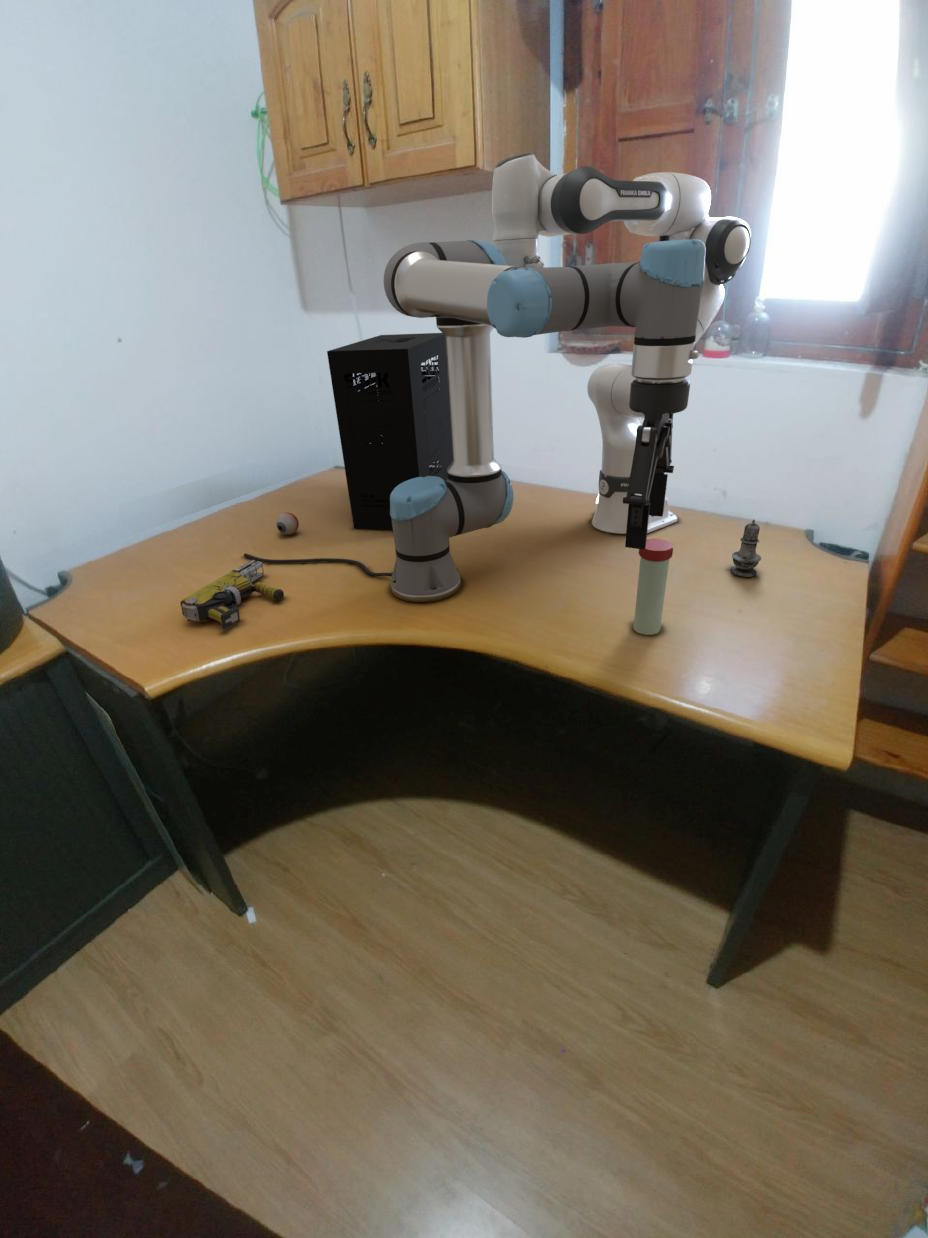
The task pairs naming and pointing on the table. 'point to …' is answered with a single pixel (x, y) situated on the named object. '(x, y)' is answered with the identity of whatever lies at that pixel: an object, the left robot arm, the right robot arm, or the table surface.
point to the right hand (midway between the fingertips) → (516, 335)
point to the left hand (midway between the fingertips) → (645, 530)
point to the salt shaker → (747, 552)
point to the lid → (657, 550)
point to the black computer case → (390, 418)
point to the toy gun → (227, 596)
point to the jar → (650, 596)
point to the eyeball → (287, 523)
